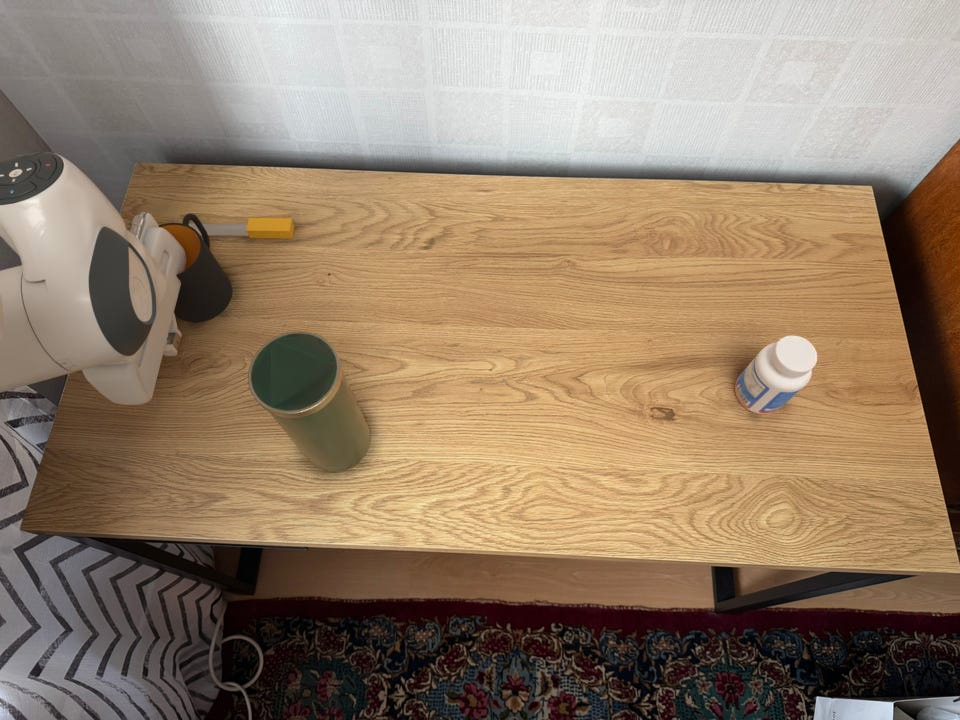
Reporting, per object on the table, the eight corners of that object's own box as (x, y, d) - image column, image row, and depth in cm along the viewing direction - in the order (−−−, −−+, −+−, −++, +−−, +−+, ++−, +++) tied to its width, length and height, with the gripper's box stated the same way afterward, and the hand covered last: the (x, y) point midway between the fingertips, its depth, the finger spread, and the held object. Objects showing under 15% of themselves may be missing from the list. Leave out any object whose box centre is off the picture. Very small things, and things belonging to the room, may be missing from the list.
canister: (340, 488, 73) (295, 431, 55) (287, 446, 76) (228, 379, 58) (386, 433, 76) (358, 362, 58) (335, 394, 79) (292, 315, 61)
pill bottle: (787, 381, 80) (832, 341, 70) (776, 423, 77) (820, 387, 67) (739, 363, 81) (776, 321, 71) (727, 403, 78) (763, 365, 68)
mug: (245, 249, 88) (217, 200, 79) (224, 324, 83) (192, 281, 73) (186, 245, 88) (152, 196, 79) (162, 320, 83) (122, 277, 74)
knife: (294, 226, 90) (291, 218, 88) (292, 238, 89) (289, 230, 87) (168, 224, 90) (162, 216, 88) (164, 237, 89) (159, 229, 87)
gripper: (111, 202, 69) (166, 274, 82) (55, 371, 60) (126, 422, 72) (169, 203, 69) (215, 274, 82) (121, 371, 60) (181, 423, 73)
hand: (173, 345), depth 77 cm, fingers closed
